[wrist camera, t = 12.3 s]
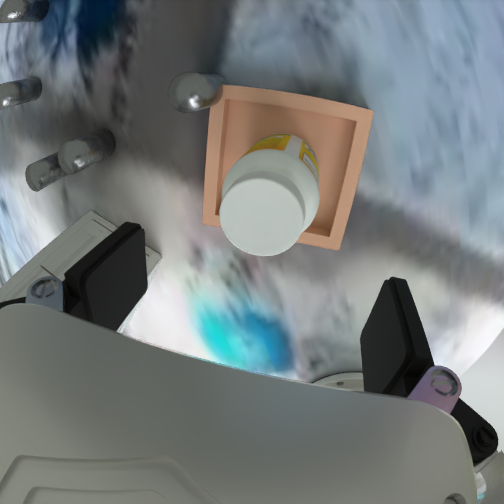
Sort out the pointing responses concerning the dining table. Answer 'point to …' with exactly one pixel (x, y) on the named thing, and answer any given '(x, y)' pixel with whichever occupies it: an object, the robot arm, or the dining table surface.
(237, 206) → the supplement bottle
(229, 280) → the dining table surface
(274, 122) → the dish
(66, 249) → the supplement box
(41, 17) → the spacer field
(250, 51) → the dining table surface
